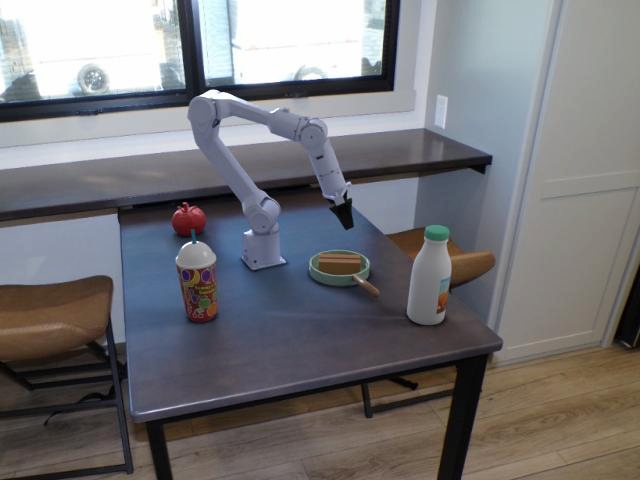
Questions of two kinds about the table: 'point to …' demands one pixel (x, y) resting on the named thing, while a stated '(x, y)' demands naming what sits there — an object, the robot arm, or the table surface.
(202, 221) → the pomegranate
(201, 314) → the smoothie
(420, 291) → the milk bottle
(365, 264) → the pan
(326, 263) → the taped cardboard box
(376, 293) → the pan handle
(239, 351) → the table surface
